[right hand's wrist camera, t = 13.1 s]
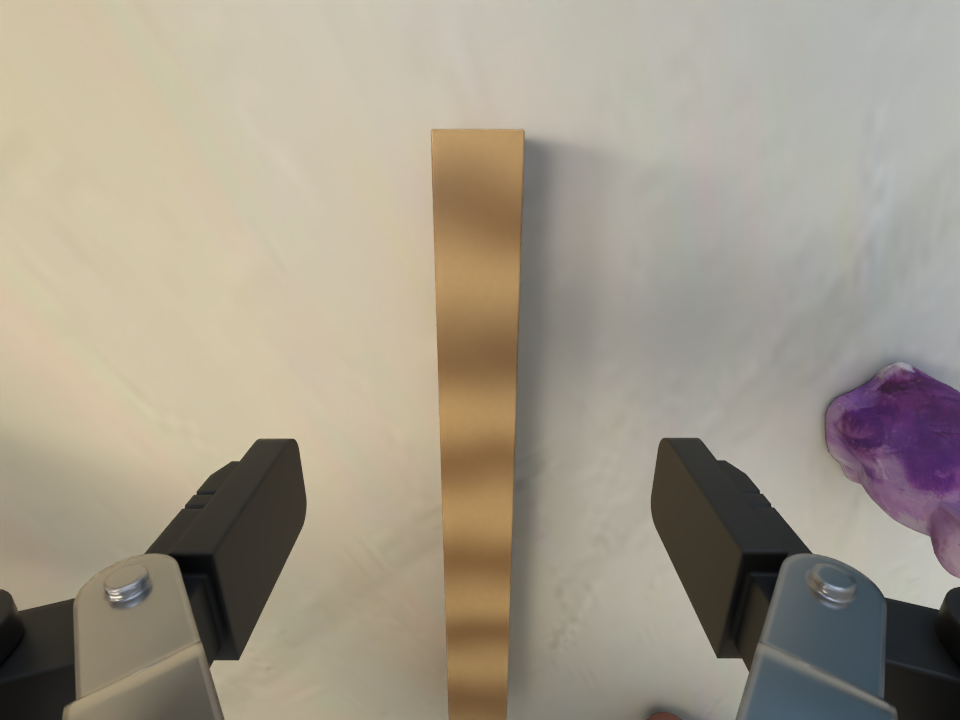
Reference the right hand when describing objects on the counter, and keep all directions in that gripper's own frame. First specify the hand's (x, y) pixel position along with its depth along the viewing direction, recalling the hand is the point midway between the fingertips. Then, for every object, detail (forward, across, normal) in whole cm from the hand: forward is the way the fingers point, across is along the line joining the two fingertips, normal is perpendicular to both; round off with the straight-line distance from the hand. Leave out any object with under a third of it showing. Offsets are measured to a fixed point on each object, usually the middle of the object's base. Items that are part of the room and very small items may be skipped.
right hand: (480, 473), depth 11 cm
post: (+25, 0, -18) cm, 31 cm away
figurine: (+25, +30, -13) cm, 42 cm away
